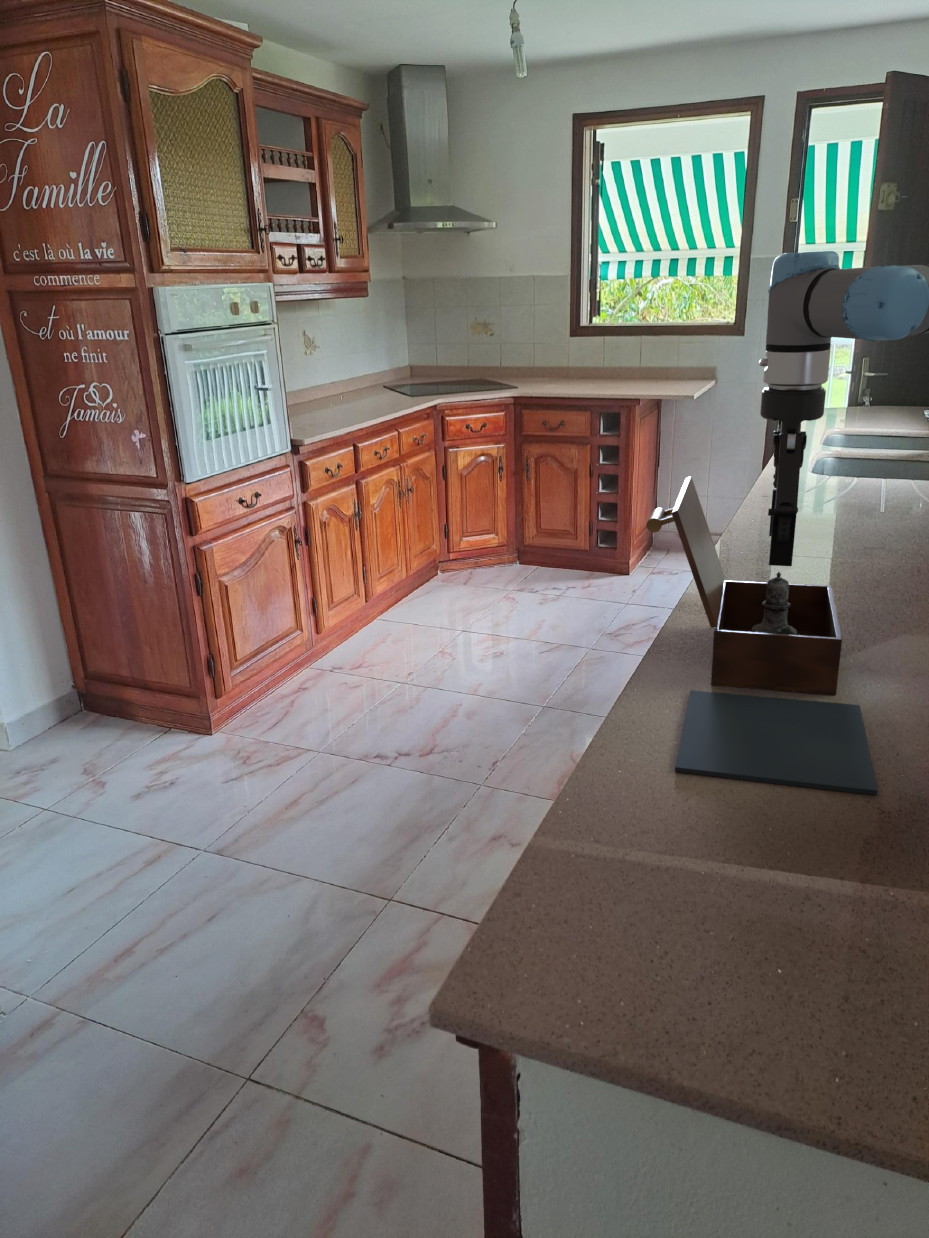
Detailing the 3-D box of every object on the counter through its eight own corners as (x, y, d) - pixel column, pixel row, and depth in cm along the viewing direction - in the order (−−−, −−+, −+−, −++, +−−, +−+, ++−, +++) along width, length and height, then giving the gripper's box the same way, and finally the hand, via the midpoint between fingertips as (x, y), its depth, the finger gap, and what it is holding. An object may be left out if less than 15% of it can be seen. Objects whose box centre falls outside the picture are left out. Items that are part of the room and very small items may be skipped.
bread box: (826, 634, 129) (831, 585, 127) (835, 695, 111) (842, 639, 108) (719, 627, 134) (722, 580, 131) (710, 684, 115) (713, 630, 113)
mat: (859, 709, 107) (859, 704, 107) (876, 795, 89) (877, 790, 89) (689, 694, 113) (690, 689, 113) (675, 772, 95) (675, 767, 95)
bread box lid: (691, 475, 127) (652, 488, 130) (677, 510, 109) (632, 524, 111) (724, 576, 131) (686, 587, 133) (717, 626, 112) (673, 638, 115)
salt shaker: (753, 643, 126) (759, 563, 122) (797, 649, 123) (804, 567, 119) (746, 659, 121) (752, 576, 117) (792, 665, 118) (799, 580, 114)
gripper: (763, 375, 122) (751, 524, 129) (761, 399, 99) (748, 577, 107) (821, 374, 119) (806, 526, 127) (832, 399, 97) (813, 580, 105)
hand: (779, 550), depth 117 cm, fingers open, 13 cm apart
